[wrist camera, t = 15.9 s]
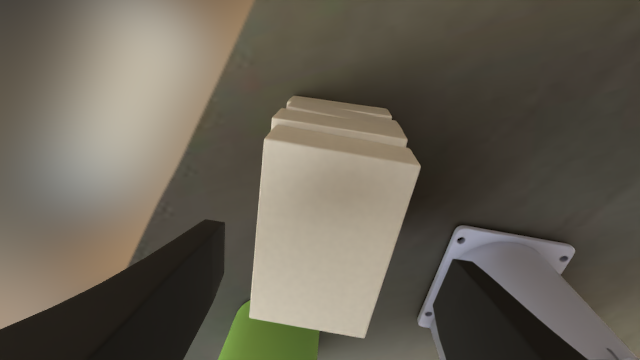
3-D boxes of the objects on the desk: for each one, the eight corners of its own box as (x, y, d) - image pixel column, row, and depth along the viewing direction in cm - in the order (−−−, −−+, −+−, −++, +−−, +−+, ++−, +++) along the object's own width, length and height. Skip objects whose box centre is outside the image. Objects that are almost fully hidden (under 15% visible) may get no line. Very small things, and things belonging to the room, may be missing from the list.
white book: (362, 306, 16) (364, 339, 14) (259, 287, 16) (248, 318, 14) (410, 148, 12) (422, 166, 10) (275, 123, 12) (263, 137, 10)
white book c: (361, 274, 18) (363, 301, 16) (267, 259, 18) (259, 283, 16) (400, 126, 14) (408, 139, 12) (281, 107, 14) (271, 117, 12)
